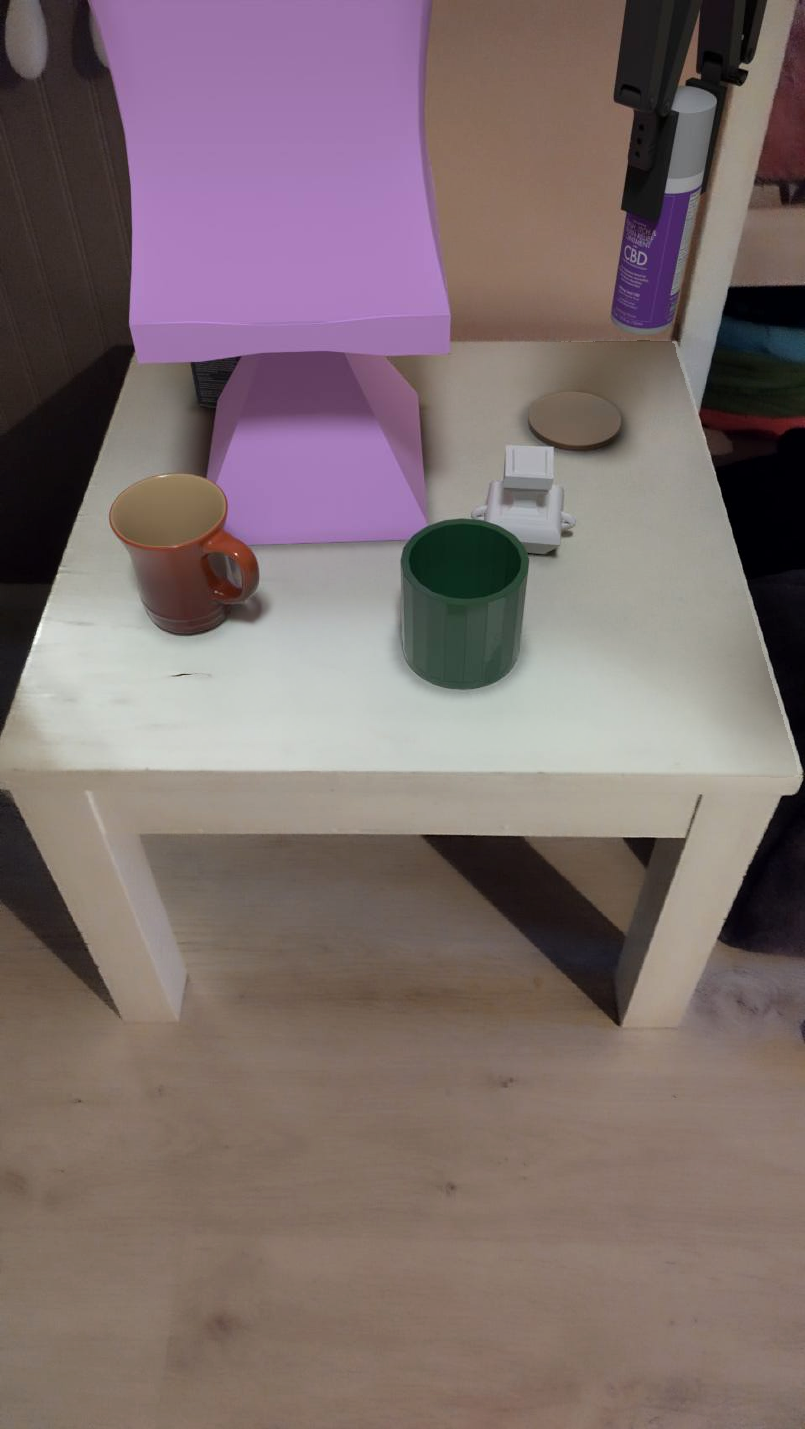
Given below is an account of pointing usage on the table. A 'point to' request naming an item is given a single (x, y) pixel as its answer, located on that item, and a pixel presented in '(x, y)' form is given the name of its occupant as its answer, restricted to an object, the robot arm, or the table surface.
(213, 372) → the box
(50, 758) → the table surface
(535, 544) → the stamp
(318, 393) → the chair
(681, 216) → the container
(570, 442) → the coaster
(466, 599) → the cup
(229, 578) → the mug
